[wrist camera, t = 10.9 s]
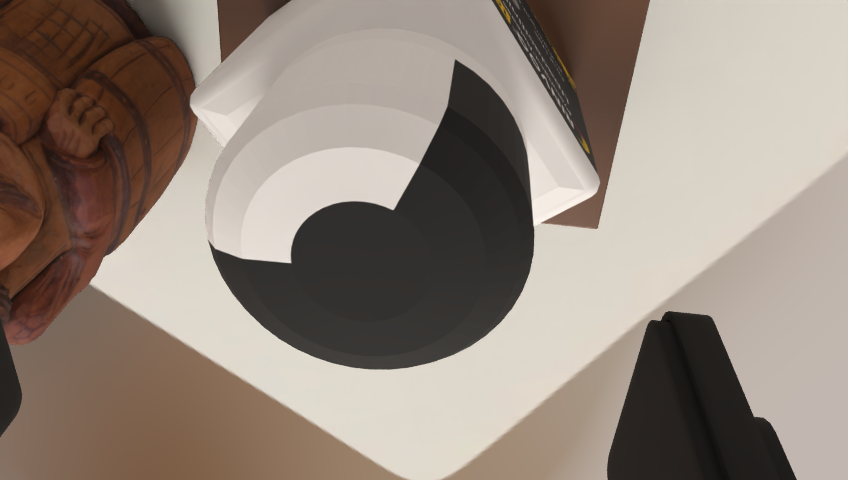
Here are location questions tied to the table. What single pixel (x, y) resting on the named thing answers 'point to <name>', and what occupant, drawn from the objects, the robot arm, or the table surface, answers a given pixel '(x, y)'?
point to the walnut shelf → (577, 49)
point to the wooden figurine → (79, 145)
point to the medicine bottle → (389, 172)
